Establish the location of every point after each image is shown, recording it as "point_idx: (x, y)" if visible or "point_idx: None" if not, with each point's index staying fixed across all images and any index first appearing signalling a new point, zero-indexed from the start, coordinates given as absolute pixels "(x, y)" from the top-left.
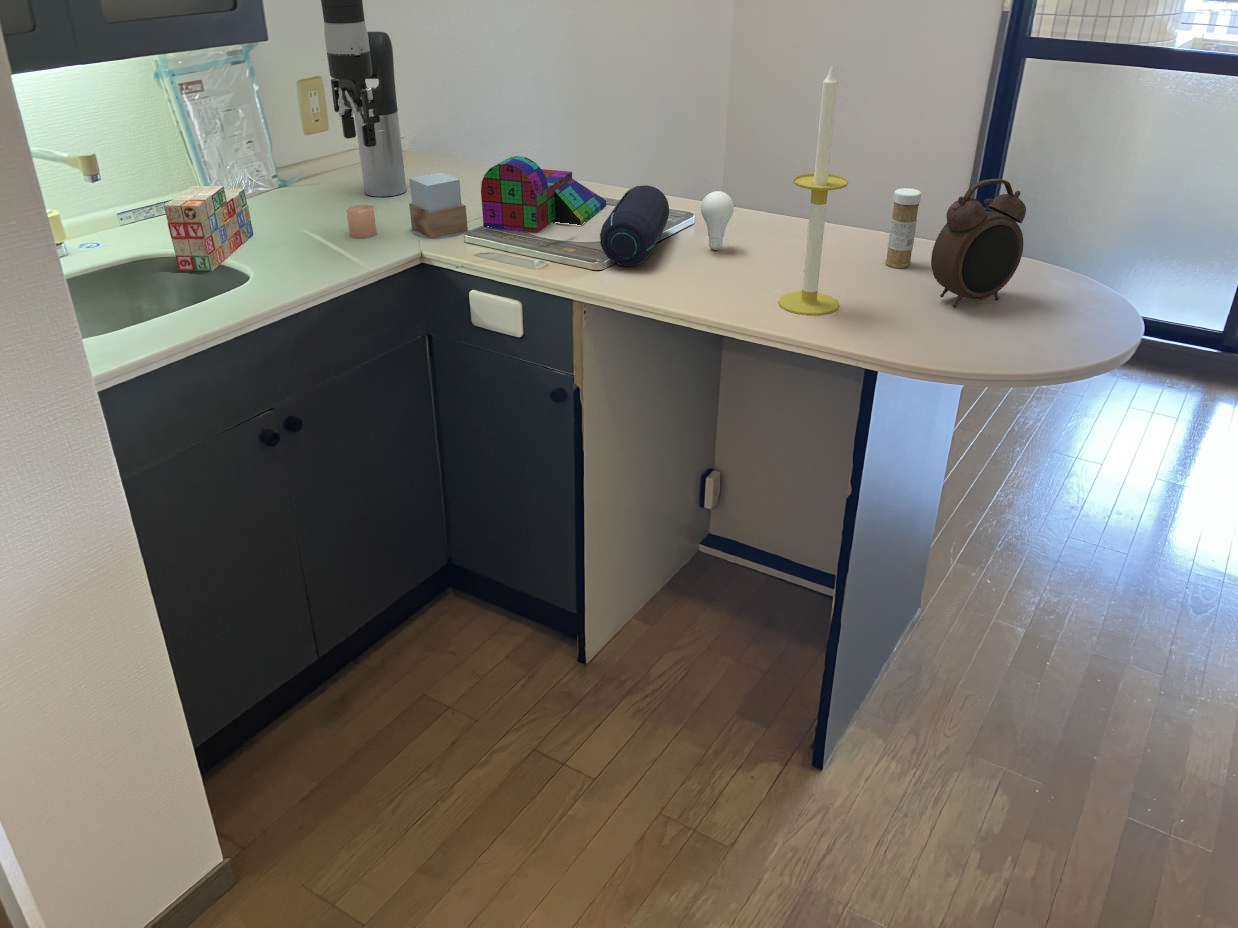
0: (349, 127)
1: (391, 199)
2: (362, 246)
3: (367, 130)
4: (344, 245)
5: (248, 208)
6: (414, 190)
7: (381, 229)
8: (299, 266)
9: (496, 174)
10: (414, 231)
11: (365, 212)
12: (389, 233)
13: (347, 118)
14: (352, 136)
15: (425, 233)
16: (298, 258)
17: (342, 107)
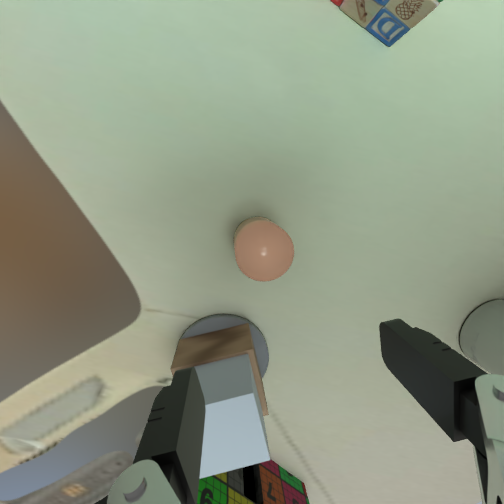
0: (413, 372)
1: (446, 329)
2: (218, 228)
3: (136, 454)
4: (238, 200)
5: (429, 11)
6: (232, 380)
7: (297, 279)
8: (148, 89)
9: None
10: (231, 323)
11: (236, 258)
12: (268, 286)
13: (453, 407)
14: (386, 351)
15: (200, 336)
16: (199, 100)
17: (496, 470)
